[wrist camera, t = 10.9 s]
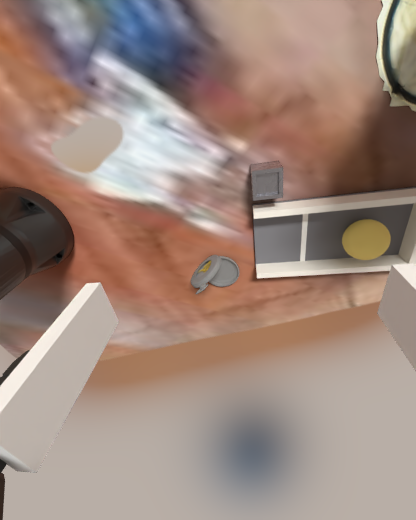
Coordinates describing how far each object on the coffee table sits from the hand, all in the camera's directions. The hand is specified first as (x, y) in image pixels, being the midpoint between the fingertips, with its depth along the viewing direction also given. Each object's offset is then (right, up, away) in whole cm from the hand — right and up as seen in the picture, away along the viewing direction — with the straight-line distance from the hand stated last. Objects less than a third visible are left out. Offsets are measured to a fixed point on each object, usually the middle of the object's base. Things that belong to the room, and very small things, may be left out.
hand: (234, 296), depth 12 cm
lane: (+18, +6, +28) cm, 34 cm away
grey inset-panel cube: (+7, +14, +24) cm, 29 cm away
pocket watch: (+1, +1, +34) cm, 34 cm away
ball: (+22, +6, +27) cm, 35 cm away
